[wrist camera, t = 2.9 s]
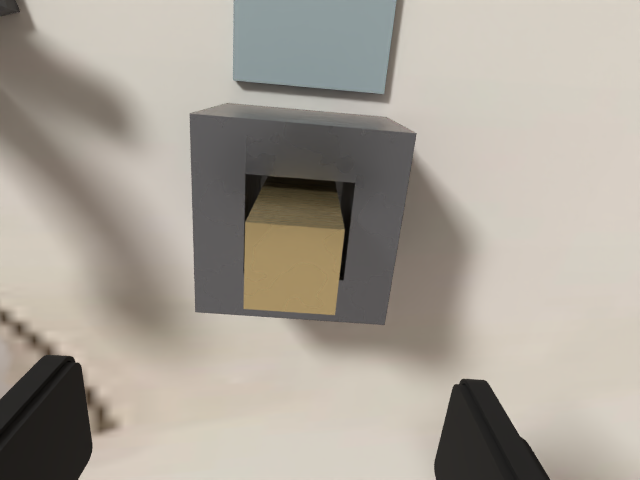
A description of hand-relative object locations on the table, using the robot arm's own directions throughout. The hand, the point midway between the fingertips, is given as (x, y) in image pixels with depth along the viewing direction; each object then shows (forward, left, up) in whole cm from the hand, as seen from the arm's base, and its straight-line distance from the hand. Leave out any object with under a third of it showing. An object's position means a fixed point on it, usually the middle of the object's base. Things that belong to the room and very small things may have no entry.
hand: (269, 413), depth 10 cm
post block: (0, 0, -22) cm, 22 cm away
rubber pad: (0, -12, -22) cm, 25 cm away
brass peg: (0, 0, -20) cm, 20 cm away
